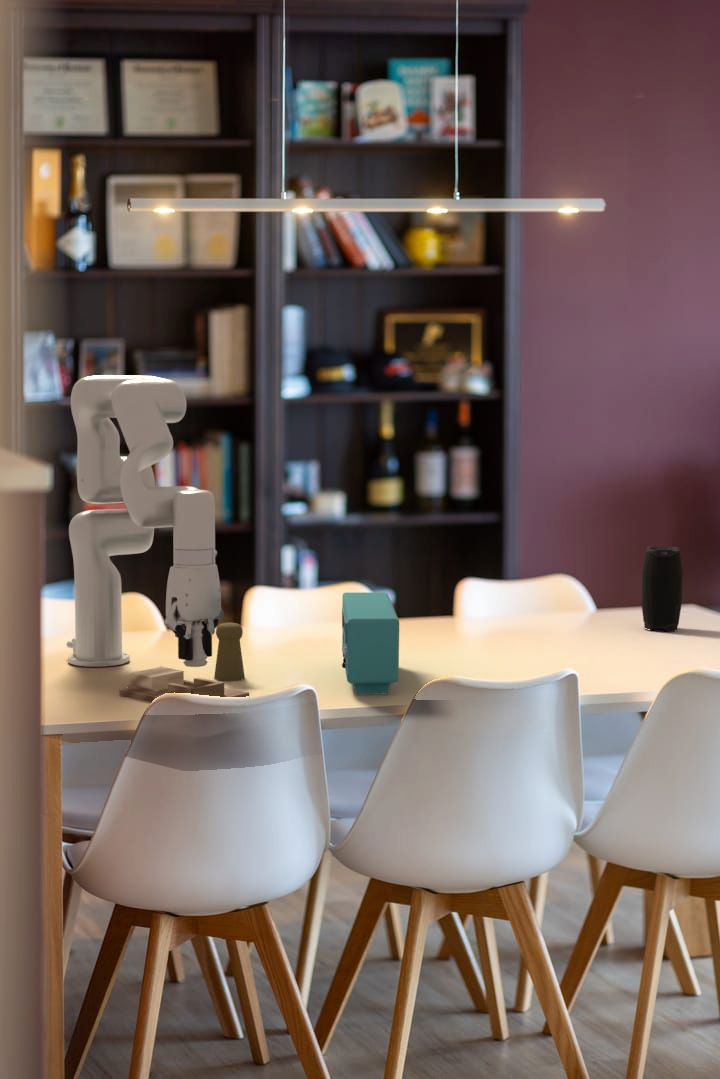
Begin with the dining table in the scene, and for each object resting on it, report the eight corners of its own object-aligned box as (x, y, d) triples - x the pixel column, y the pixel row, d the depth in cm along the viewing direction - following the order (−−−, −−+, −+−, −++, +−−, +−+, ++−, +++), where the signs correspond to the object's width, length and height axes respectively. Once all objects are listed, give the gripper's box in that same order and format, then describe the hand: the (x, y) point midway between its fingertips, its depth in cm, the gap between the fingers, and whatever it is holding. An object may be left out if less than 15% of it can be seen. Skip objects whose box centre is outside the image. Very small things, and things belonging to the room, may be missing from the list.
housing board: (119, 695, 276) (119, 677, 276) (174, 684, 287) (174, 666, 286) (194, 711, 263) (194, 692, 263) (249, 698, 274) (249, 680, 274)
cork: (245, 675, 296) (245, 620, 294) (244, 681, 290) (244, 625, 288) (215, 675, 295) (214, 620, 294) (213, 681, 289) (212, 625, 288)
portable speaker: (634, 627, 354) (636, 546, 352) (668, 625, 357) (671, 545, 355) (653, 633, 346) (655, 550, 344) (687, 631, 349) (690, 548, 347)
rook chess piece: (183, 662, 273) (183, 619, 272) (208, 662, 273) (207, 619, 272) (182, 667, 268) (181, 623, 268) (207, 667, 269) (206, 623, 268)
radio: (337, 663, 309) (338, 591, 307) (387, 663, 309) (388, 591, 308) (343, 698, 275) (343, 618, 273) (399, 698, 276) (399, 618, 274)
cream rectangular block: (130, 687, 277) (129, 673, 277) (161, 681, 283) (161, 666, 283) (151, 692, 273) (151, 677, 273) (183, 685, 279) (183, 670, 279)
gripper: (212, 552, 278) (213, 649, 279) (145, 560, 265) (146, 661, 267) (241, 555, 273) (242, 653, 275) (174, 564, 260) (175, 666, 262)
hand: (195, 656), depth 271 cm, fingers closed on rook chess piece, 4 cm apart
